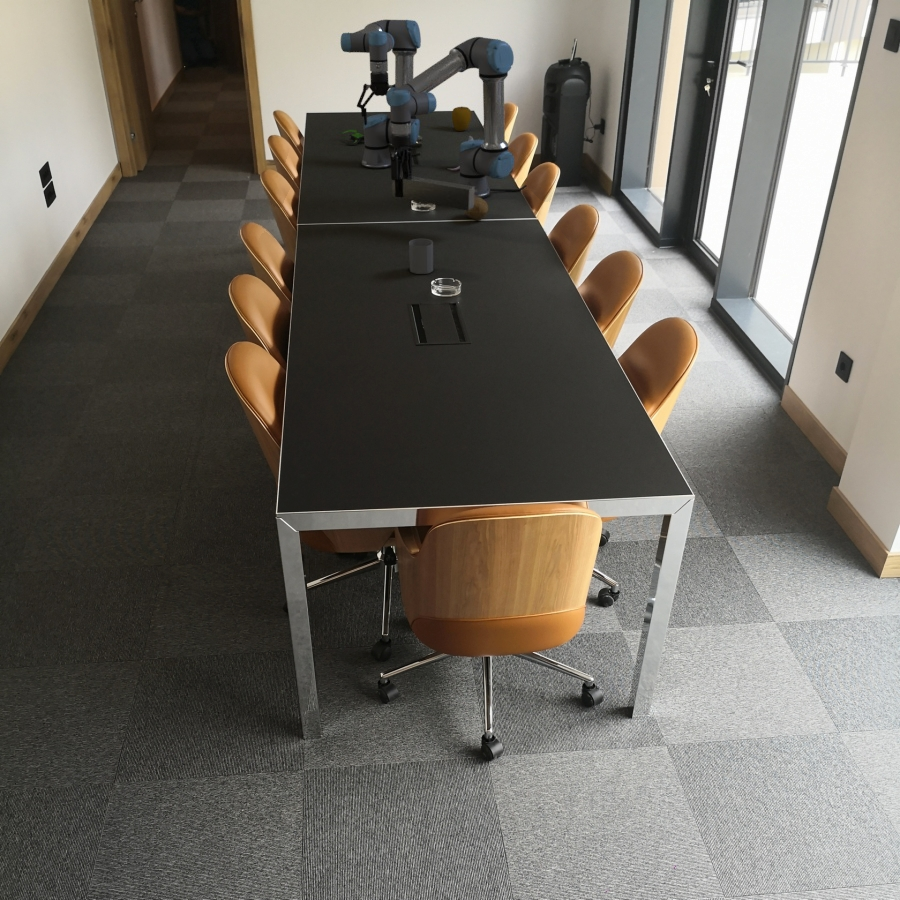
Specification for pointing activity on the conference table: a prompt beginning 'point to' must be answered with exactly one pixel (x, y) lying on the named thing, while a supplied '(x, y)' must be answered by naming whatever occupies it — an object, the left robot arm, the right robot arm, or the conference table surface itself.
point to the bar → (436, 192)
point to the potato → (478, 209)
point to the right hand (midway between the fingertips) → (402, 195)
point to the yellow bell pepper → (461, 118)
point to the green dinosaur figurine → (354, 137)
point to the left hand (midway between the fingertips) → (381, 124)
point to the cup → (421, 256)
